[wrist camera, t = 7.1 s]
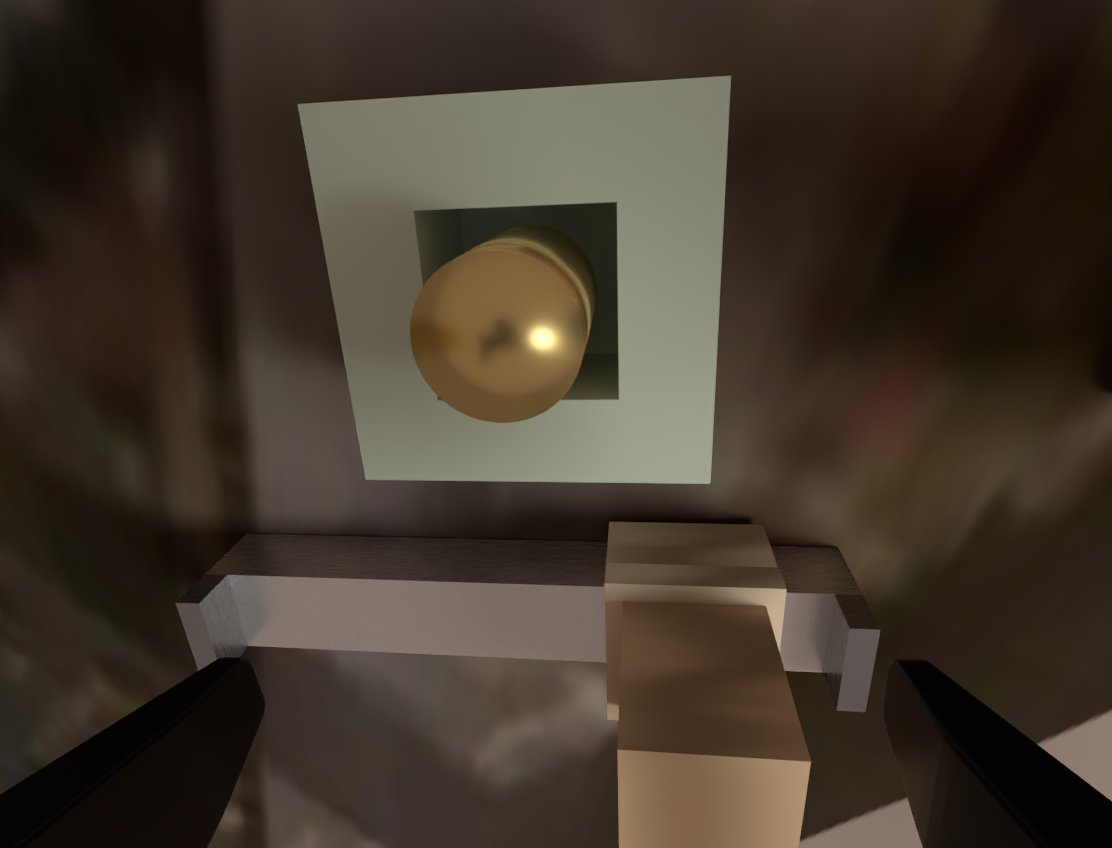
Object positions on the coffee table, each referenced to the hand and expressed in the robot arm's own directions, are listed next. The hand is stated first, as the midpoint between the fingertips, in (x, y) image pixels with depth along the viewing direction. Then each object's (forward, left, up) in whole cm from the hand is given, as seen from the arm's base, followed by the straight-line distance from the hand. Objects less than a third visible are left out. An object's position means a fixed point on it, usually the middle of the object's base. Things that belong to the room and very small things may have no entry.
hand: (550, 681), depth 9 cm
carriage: (-3, +7, -12) cm, 14 cm away
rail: (+3, +7, -12) cm, 14 cm away
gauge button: (+1, -4, -8) cm, 9 cm away
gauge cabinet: (+1, -4, -12) cm, 13 cm away
